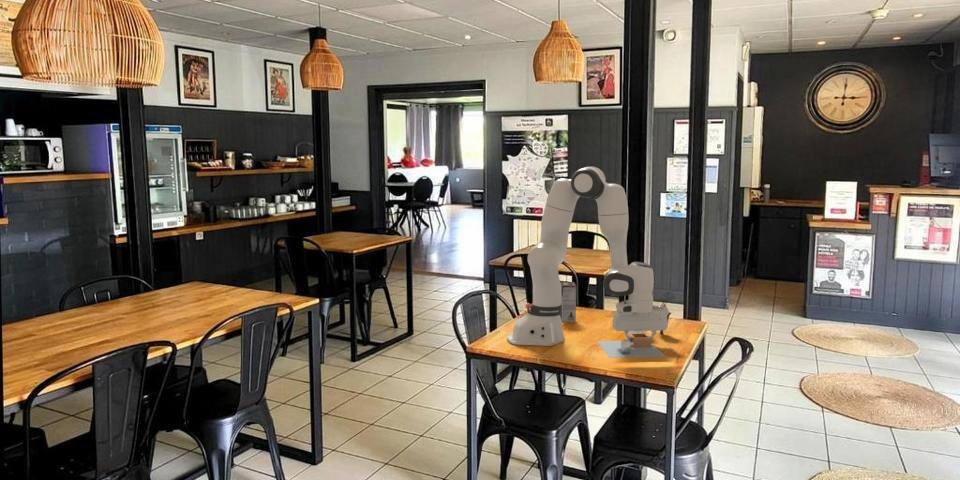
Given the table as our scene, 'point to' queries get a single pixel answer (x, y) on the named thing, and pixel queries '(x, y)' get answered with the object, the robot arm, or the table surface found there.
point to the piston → (625, 346)
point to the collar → (640, 340)
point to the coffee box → (568, 301)
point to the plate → (615, 350)
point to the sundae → (667, 319)
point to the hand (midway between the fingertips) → (639, 341)
